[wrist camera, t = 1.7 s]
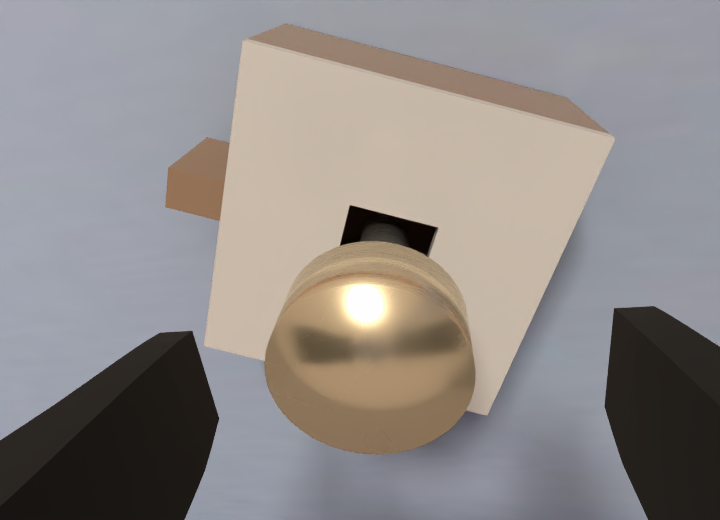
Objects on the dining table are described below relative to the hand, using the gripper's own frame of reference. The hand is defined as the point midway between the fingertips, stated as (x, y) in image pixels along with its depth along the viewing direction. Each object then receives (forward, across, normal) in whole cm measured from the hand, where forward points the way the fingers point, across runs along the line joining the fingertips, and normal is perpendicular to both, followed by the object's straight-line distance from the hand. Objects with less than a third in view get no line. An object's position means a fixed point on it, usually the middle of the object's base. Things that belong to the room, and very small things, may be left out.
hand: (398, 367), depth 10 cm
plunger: (+7, +1, +1) cm, 7 cm away
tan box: (+10, +1, +1) cm, 11 cm away
